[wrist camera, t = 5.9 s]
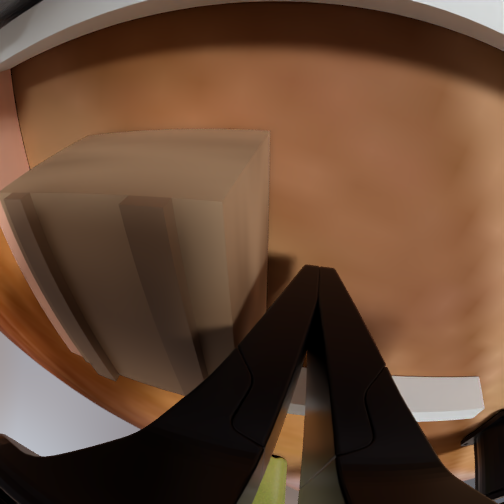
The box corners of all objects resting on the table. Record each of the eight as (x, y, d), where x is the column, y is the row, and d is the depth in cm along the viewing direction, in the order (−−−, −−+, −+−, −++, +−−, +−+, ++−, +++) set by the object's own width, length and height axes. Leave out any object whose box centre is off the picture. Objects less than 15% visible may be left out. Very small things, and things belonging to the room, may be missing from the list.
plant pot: (200, 435, 25) (173, 511, 18) (297, 448, 22) (278, 536, 15) (229, 460, 30) (211, 521, 23) (307, 469, 27) (293, 536, 20)
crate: (265, 316, 12) (238, 417, 8) (131, 290, 13) (82, 367, 9) (270, 131, 7) (215, 212, 4) (88, 135, 8) (-11, 198, 5)
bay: (468, 387, 12) (472, 418, 11) (86, 327, 17) (71, 351, 15) (610, 90, 2) (645, 108, 1) (-4, 50, 7) (-40, 62, 5)
